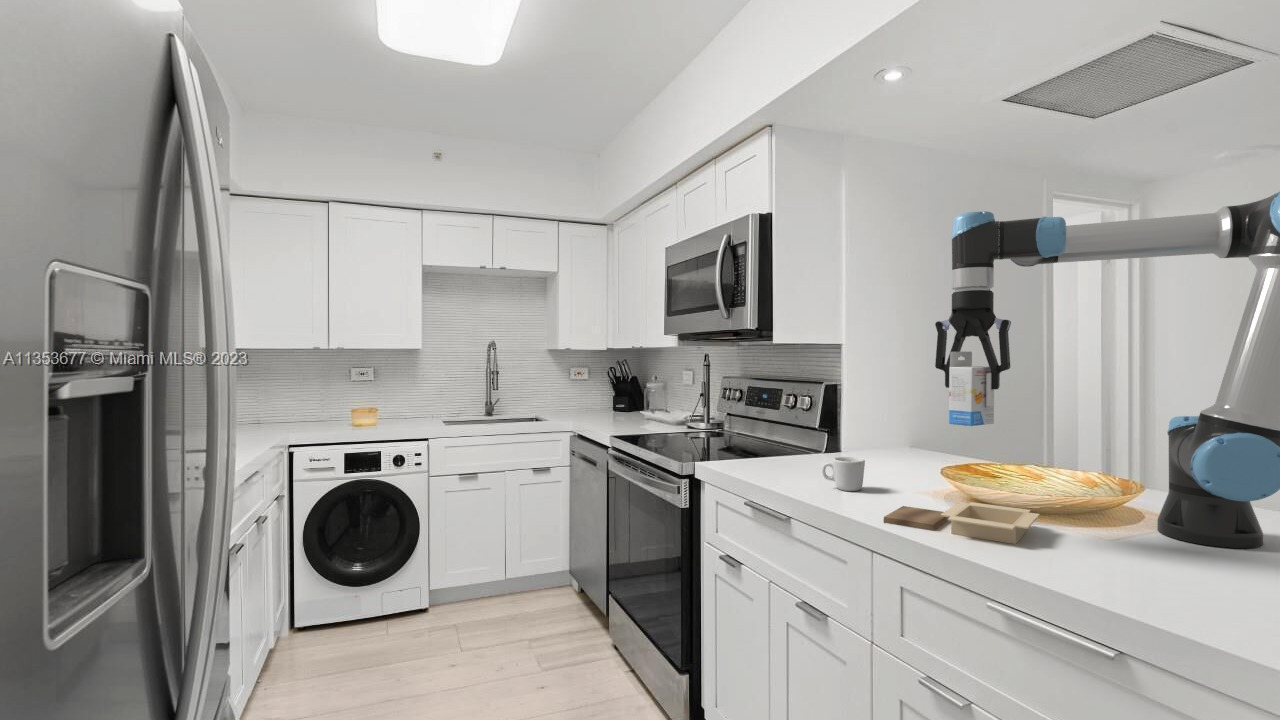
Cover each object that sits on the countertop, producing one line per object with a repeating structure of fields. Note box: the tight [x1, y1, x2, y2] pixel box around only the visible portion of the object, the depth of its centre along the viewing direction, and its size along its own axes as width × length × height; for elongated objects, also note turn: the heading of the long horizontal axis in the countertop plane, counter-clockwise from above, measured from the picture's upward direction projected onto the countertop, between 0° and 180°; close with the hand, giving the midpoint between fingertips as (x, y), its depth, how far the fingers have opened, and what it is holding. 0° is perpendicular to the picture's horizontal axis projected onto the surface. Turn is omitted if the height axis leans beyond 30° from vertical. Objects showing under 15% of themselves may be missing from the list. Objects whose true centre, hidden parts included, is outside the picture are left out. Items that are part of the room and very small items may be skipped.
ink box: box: [948, 350, 995, 427], centre depth 130 cm, size 8×5×15 cm, turn 124°
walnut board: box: [883, 505, 949, 531], centre depth 138 cm, size 10×12×1 cm
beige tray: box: [941, 501, 1041, 545], centre depth 129 cm, size 15×17×4 cm
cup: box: [821, 456, 866, 492], centre depth 169 cm, size 11×8×8 cm
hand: (971, 404), depth 130 cm, fingers closed on ink box, 6 cm apart
